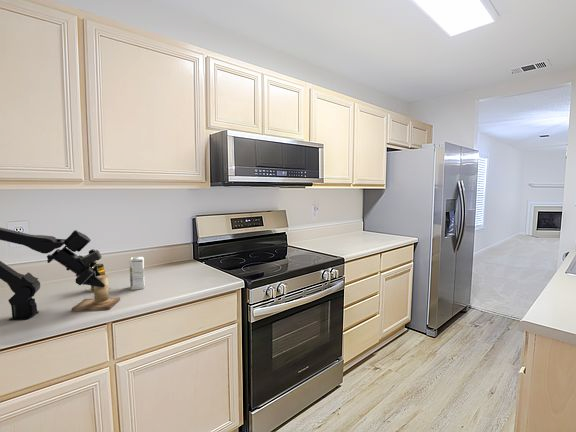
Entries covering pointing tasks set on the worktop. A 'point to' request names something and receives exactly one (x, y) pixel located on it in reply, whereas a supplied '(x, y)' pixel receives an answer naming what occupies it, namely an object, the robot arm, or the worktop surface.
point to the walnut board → (88, 305)
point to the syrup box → (137, 273)
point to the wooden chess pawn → (101, 292)
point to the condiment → (102, 272)
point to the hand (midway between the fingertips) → (104, 283)
